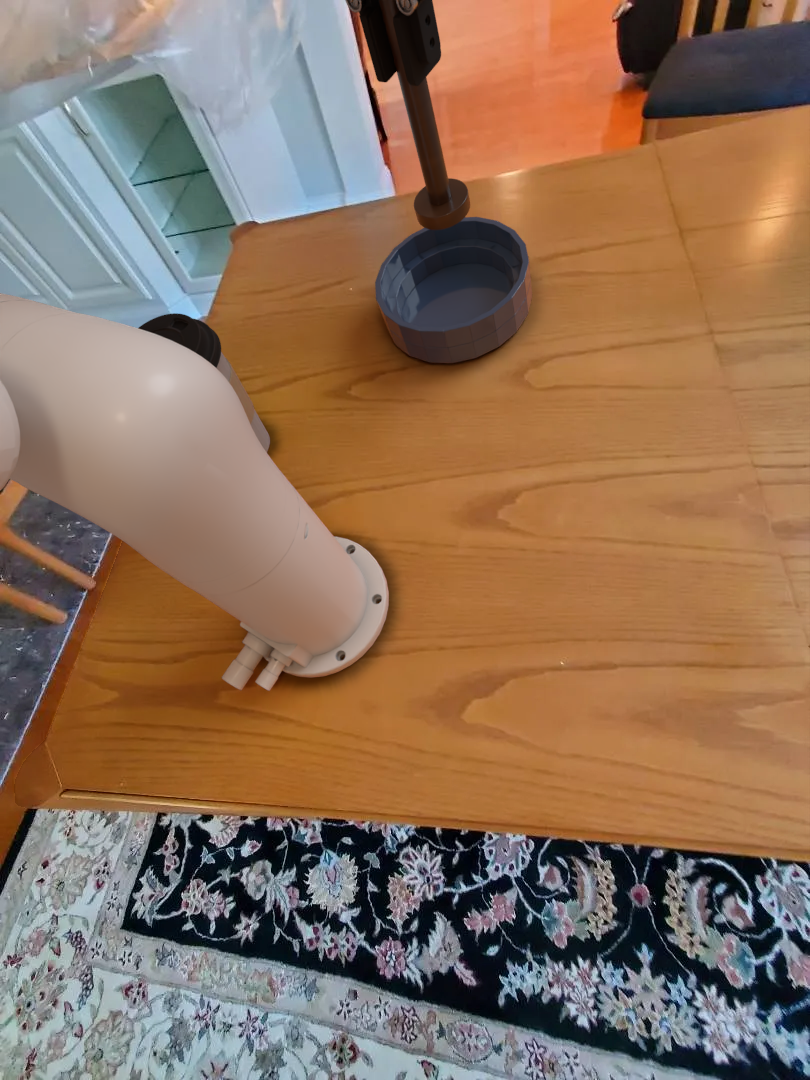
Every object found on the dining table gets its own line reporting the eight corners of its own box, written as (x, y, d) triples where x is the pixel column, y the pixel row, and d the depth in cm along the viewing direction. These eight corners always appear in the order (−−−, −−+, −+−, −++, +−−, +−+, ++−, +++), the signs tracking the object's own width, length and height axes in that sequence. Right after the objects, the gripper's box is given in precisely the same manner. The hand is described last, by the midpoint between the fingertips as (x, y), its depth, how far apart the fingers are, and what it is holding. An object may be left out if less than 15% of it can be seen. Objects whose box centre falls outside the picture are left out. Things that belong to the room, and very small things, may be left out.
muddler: (452, 235, 49) (396, -9, 35) (407, 224, 51) (336, -11, 37) (480, 196, 50) (437, -56, 36) (435, 187, 52) (377, -56, 38)
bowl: (485, 384, 60) (477, 348, 56) (362, 344, 67) (346, 309, 63) (558, 273, 64) (556, 232, 60) (435, 245, 71) (425, 206, 66)
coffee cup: (292, 408, 65) (220, 299, 52) (276, 486, 61) (193, 389, 48) (213, 415, 68) (125, 313, 55) (193, 490, 64) (92, 399, 51)
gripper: (117, -333, 28) (290, 96, 44) (402, -427, 21) (484, 122, 37) (219, -412, 29) (350, 29, 46) (513, -522, 23) (545, 42, 39)
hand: (409, 68), depth 41 cm, fingers closed on muddler
